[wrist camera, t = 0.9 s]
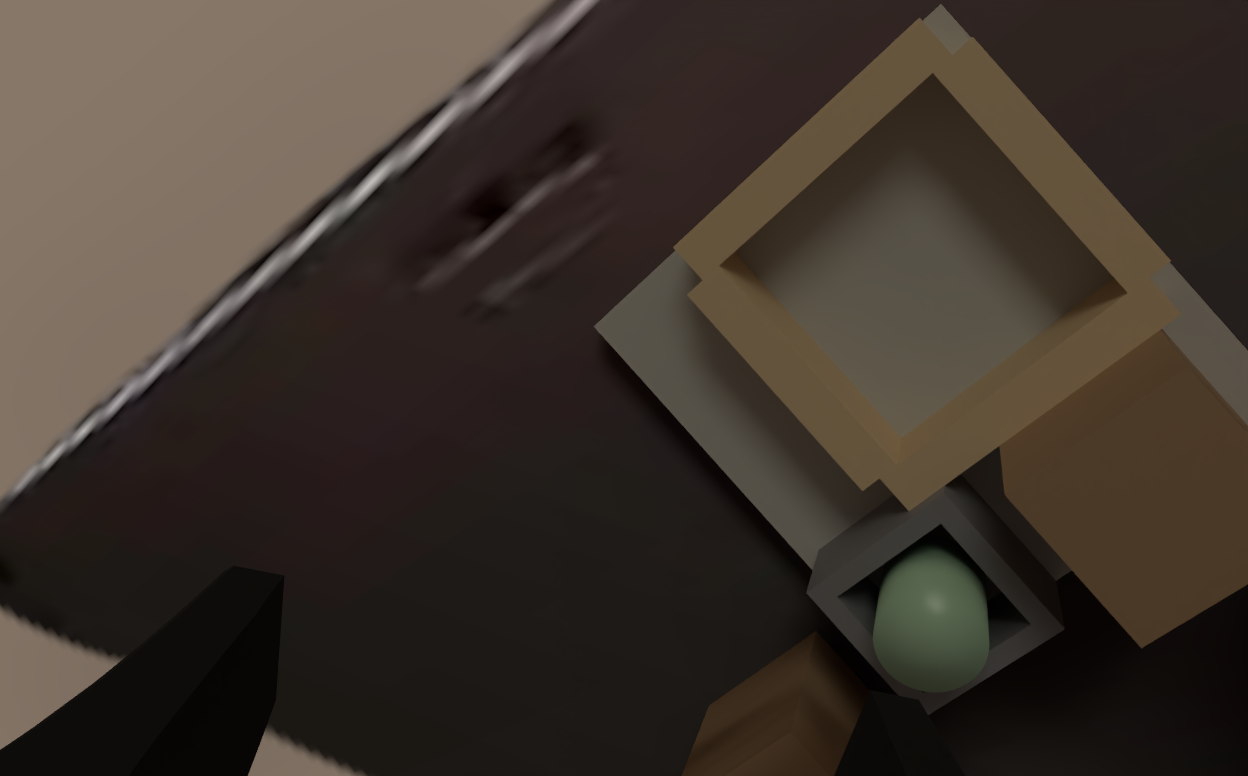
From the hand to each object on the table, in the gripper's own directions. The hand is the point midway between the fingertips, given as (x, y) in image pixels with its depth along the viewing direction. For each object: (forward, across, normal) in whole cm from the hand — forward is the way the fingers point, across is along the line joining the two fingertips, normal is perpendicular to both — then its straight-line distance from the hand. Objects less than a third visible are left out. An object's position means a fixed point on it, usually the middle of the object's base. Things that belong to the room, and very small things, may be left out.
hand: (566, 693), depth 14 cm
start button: (+11, -9, +5) cm, 15 cm away
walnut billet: (+13, -8, +12) cm, 19 cm away
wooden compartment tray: (+15, -8, +1) cm, 17 cm away
